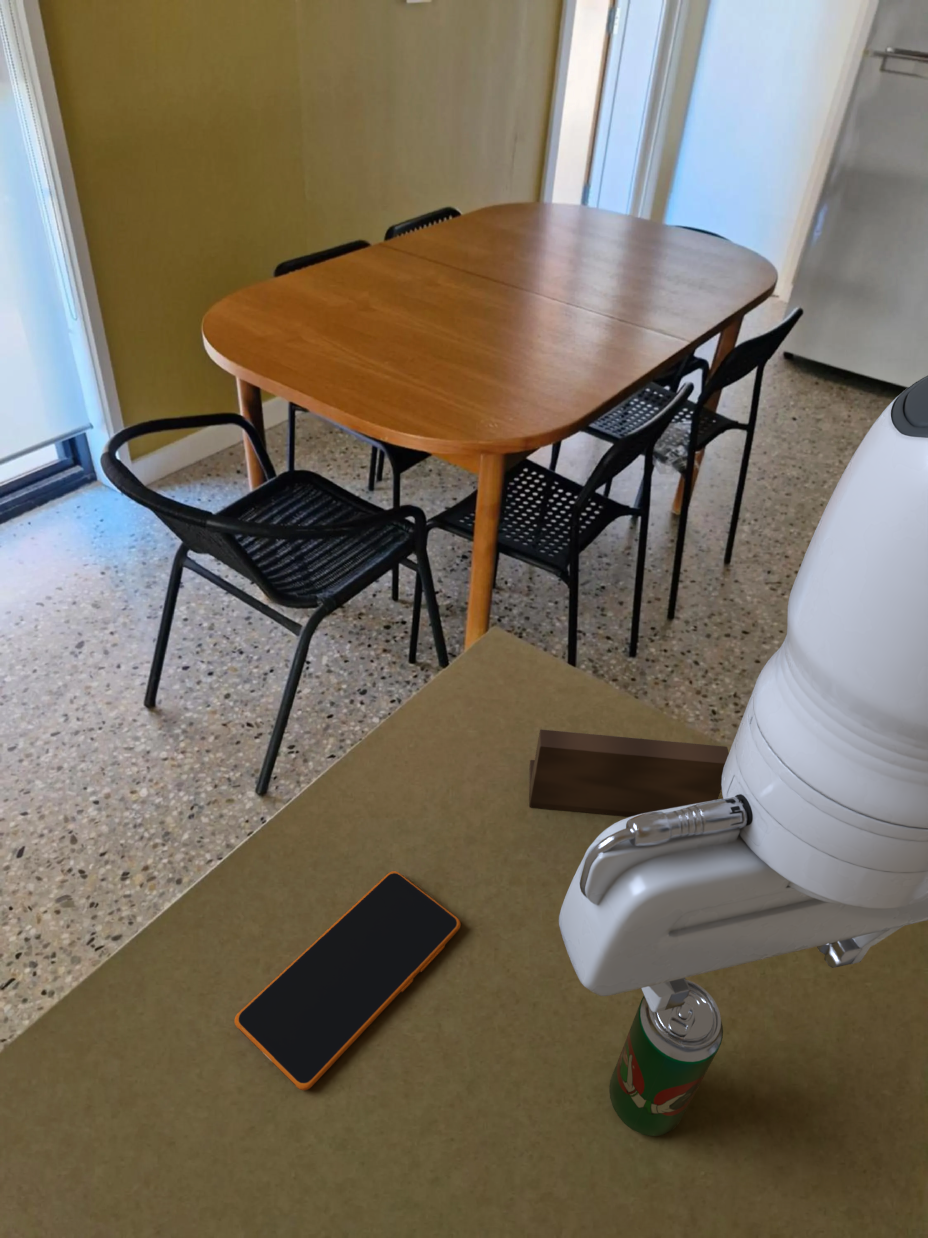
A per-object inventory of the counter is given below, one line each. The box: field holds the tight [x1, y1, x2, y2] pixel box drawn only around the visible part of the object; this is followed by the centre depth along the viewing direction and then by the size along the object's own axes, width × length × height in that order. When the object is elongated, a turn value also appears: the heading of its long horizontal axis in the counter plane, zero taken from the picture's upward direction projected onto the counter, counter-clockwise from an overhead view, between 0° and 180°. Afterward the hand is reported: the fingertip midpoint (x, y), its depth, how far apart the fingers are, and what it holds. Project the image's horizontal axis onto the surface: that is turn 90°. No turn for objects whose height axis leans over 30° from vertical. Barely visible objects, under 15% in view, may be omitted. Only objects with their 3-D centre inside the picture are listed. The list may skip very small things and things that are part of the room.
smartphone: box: [234, 870, 462, 1091], centre depth 65 cm, size 8×17×1 cm, turn 141°
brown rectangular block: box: [528, 729, 729, 817], centre depth 78 cm, size 16×5×8 cm, turn 86°
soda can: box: [608, 979, 724, 1137], centre depth 56 cm, size 5×5×12 cm
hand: (749, 973), depth 42 cm, fingers open, 8 cm apart
